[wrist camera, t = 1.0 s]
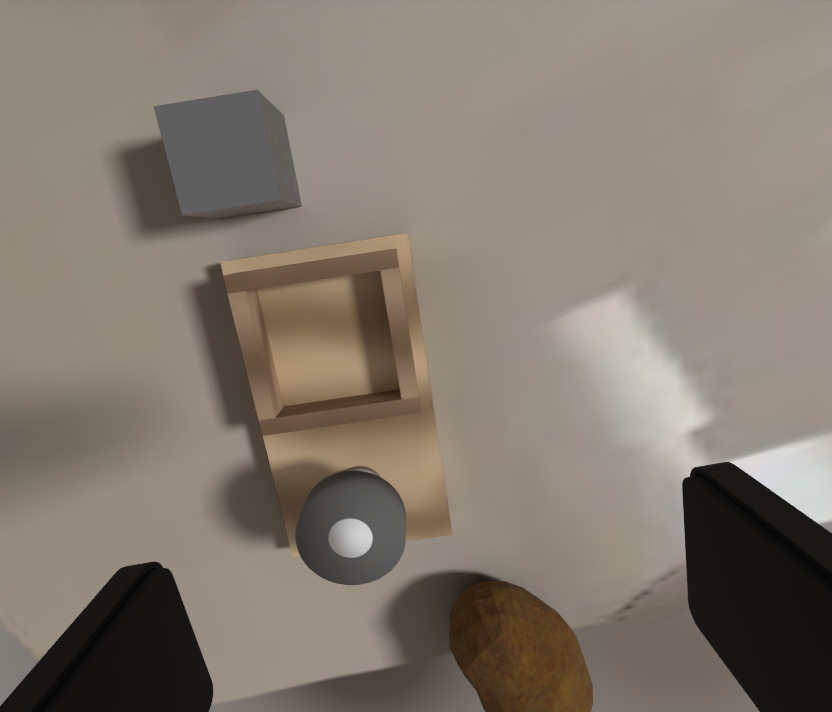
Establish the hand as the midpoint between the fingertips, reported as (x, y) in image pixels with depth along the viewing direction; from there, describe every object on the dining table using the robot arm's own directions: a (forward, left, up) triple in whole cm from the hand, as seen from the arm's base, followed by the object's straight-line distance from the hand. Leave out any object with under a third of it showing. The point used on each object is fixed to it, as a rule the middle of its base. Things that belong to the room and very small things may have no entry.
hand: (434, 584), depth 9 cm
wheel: (+9, -5, -18) cm, 20 cm away
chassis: (+4, -5, -23) cm, 23 cm away
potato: (+23, +4, -23) cm, 32 cm away
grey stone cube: (-11, -8, -23) cm, 27 cm away
